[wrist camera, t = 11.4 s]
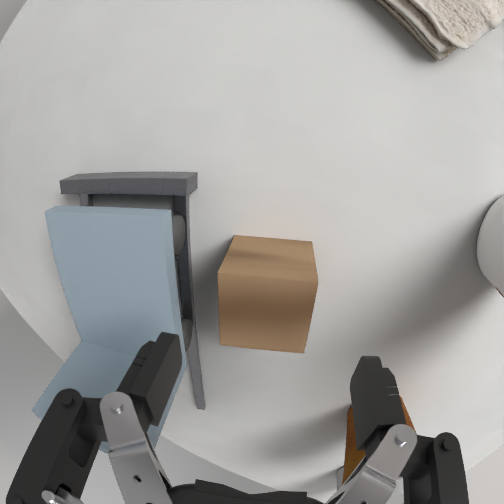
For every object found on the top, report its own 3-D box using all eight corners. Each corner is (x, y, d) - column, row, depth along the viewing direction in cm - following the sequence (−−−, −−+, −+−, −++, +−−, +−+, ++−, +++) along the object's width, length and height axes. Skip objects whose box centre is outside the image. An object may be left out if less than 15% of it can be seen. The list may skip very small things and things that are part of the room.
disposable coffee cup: (363, 435, 28) (369, 517, 17) (315, 413, 26) (313, 514, 15) (428, 399, 24) (450, 486, 13) (390, 370, 22) (415, 484, 12)
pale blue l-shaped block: (195, 343, 22) (147, 468, 12) (104, 324, 23) (38, 417, 13) (185, 198, 17) (59, 311, 7) (76, 195, 18) (-47, 269, 7)
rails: (210, 407, 28) (206, 421, 26) (130, 388, 29) (123, 400, 27) (197, 172, 17) (186, 178, 15) (76, 174, 18) (59, 180, 16)
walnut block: (302, 304, 20) (303, 353, 16) (234, 297, 21) (219, 344, 16) (311, 241, 18) (318, 281, 14) (235, 234, 19) (217, 272, 14)
